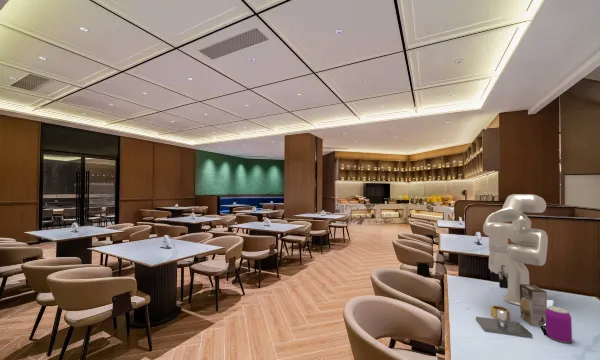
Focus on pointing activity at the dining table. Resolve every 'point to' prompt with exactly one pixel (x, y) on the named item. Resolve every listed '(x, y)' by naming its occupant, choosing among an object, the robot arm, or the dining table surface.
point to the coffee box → (533, 304)
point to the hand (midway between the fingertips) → (498, 284)
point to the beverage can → (558, 324)
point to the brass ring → (494, 311)
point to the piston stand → (503, 325)
